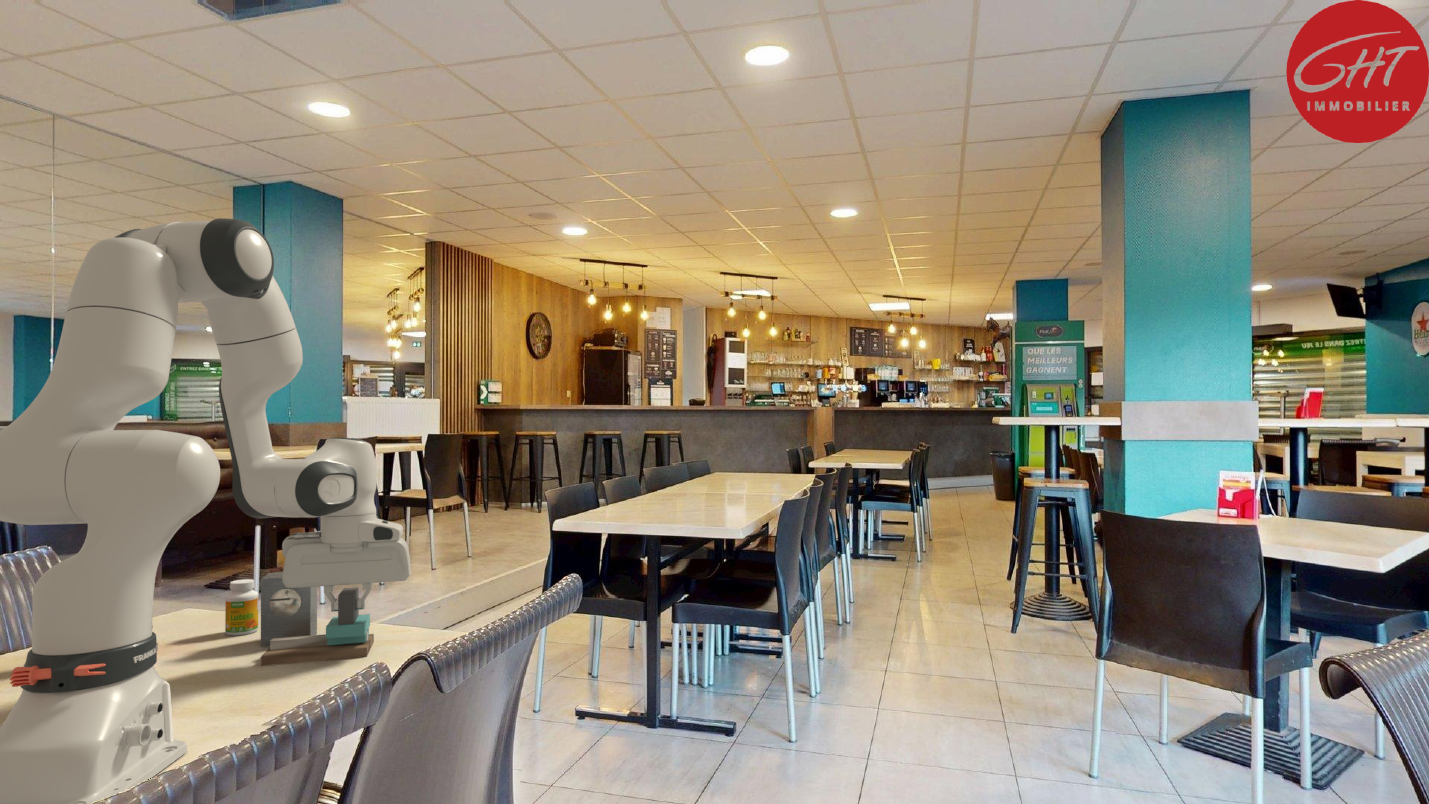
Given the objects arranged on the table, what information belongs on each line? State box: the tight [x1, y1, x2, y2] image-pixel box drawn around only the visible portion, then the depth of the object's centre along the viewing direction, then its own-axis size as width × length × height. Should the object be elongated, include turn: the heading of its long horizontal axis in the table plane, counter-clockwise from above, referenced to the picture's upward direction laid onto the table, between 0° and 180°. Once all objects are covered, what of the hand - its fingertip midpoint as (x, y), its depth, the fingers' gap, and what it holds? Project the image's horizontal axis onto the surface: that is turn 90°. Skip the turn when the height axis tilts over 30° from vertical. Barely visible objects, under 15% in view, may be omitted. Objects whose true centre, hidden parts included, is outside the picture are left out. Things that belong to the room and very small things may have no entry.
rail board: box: [260, 631, 375, 667], centre depth 134 cm, size 9×16×3 cm, turn 107°
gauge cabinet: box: [260, 571, 318, 648], centre depth 142 cm, size 7×8×12 cm
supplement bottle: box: [224, 578, 260, 637], centre depth 148 cm, size 5×5×10 cm
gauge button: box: [276, 549, 285, 565], centre depth 143 cm, size 4×4×2 cm
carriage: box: [325, 587, 371, 645], centre depth 135 cm, size 7×6×8 cm
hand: (348, 609), depth 135 cm, fingers closed on carriage, 2 cm apart
